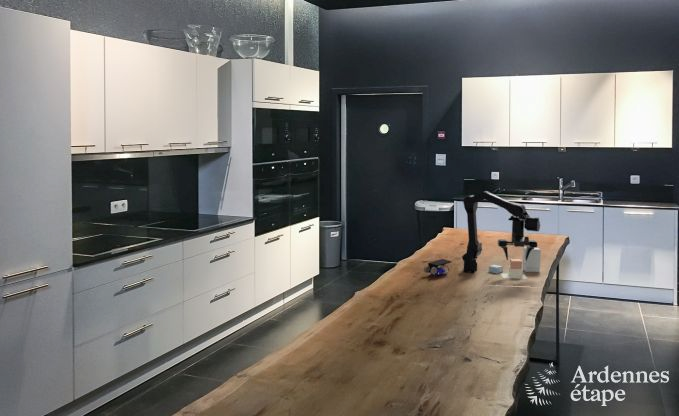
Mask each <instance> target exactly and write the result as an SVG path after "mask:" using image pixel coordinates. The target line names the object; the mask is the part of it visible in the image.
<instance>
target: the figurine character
mask: <svg viewBox="0 0 679 416" xmlns="http://www.w3.org/2000/svg"><path fill="white" fill-rule="evenodd" d="M452 261H453V260H449V259H445V258H441V259H436V260H433V261H430V262H428V264H427V265H425V266H424V267H423V272H424V273H426V274H428V273H429V274H428V275H427V276H428V277H432V278H435V277H438V276H439V275H441V274H442V275H446V274H448V273H449V271H450V269H449V268H450V266H449V265H447V264H450V263H452Z"/></svg>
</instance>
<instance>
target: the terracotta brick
mask: <svg viewBox="0 0 679 416" xmlns="http://www.w3.org/2000/svg"><path fill="white" fill-rule="evenodd" d="M509 266H510V267H511V269H522V267H523V260H522V259H520V258H510V262H509Z"/></svg>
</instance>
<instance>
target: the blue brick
mask: <svg viewBox="0 0 679 416" xmlns="http://www.w3.org/2000/svg"><path fill="white" fill-rule="evenodd" d="M488 273H492V274H500V273H503V265H499V264H492V265H489V266H488Z"/></svg>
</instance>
